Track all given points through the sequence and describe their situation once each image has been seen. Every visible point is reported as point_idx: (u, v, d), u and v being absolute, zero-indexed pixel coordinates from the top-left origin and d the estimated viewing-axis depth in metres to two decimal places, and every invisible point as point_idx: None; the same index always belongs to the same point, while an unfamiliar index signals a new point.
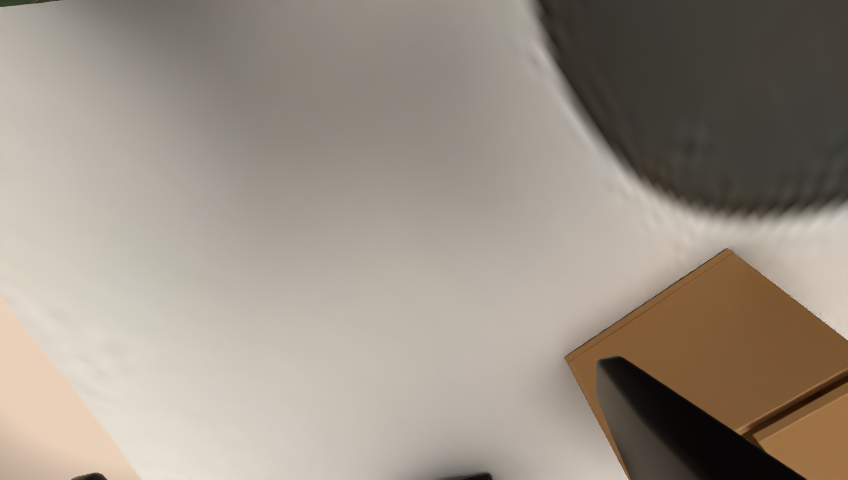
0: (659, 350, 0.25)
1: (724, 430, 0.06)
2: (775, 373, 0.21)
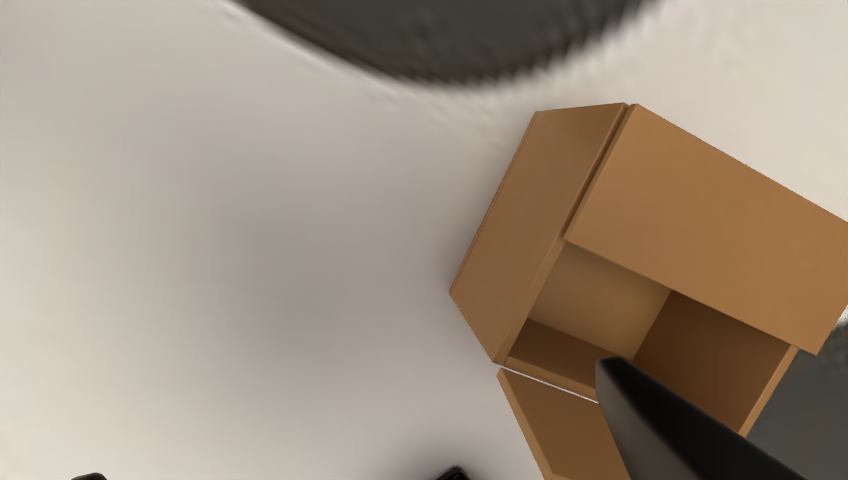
0: (501, 228, 0.23)
1: (724, 430, 0.06)
2: (570, 173, 0.19)
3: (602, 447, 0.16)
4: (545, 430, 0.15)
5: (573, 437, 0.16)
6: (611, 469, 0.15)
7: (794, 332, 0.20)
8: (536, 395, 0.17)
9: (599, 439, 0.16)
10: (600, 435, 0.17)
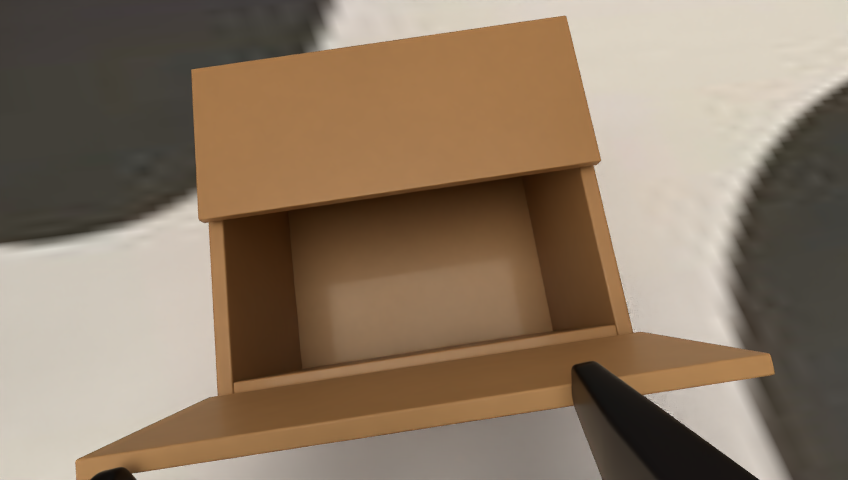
0: None
1: (692, 437, 0.06)
2: None
3: (274, 407, 0.11)
4: (168, 424, 0.11)
5: (223, 414, 0.11)
6: (243, 421, 0.10)
7: (546, 153, 0.15)
8: (228, 400, 0.13)
9: (285, 402, 0.11)
10: (297, 398, 0.12)
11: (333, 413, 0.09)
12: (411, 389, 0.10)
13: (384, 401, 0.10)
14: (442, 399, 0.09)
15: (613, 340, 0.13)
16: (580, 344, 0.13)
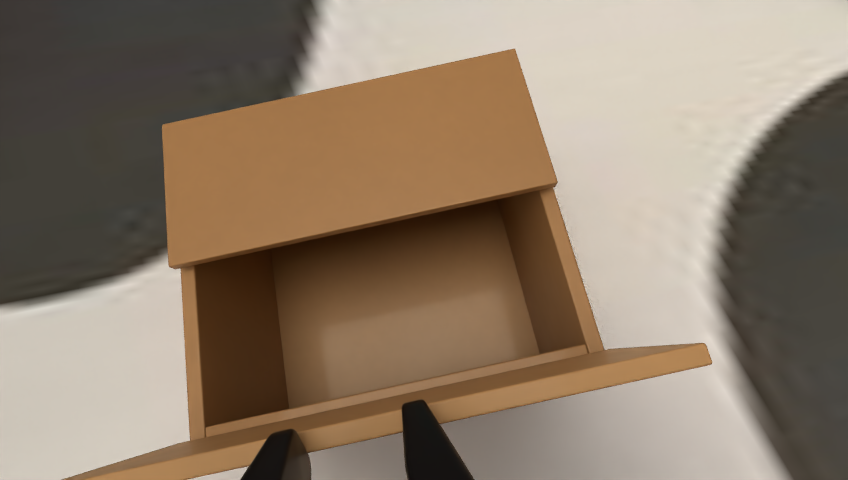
0: None
1: None
2: None
3: (229, 438, 0.11)
4: (124, 462, 0.11)
5: (179, 449, 0.11)
6: (192, 450, 0.10)
7: (503, 179, 0.16)
8: (193, 442, 0.13)
9: (243, 434, 0.11)
10: (256, 431, 0.12)
11: None
12: (363, 410, 0.10)
13: (330, 420, 0.10)
14: (383, 412, 0.09)
15: (578, 357, 0.13)
16: (546, 364, 0.13)
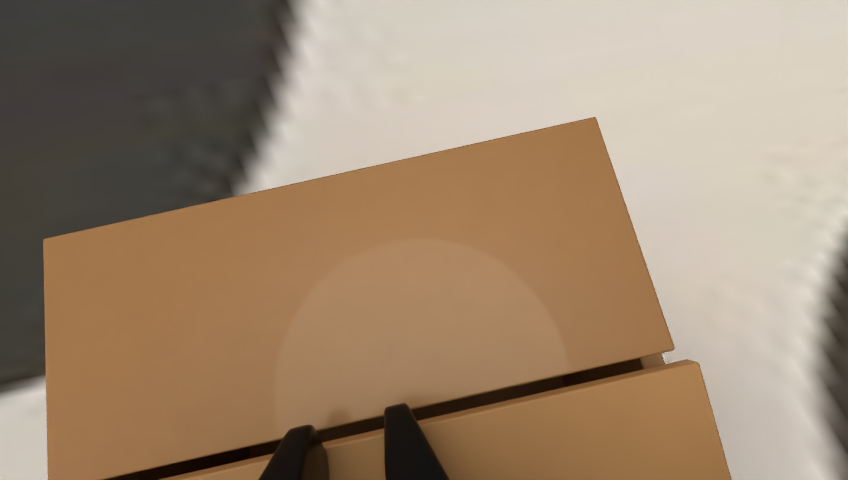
0: None
1: None
2: None
3: None
4: None
5: None
6: None
7: (587, 343, 0.10)
8: None
9: None
10: None
11: None
12: None
13: None
14: None
15: None
16: None
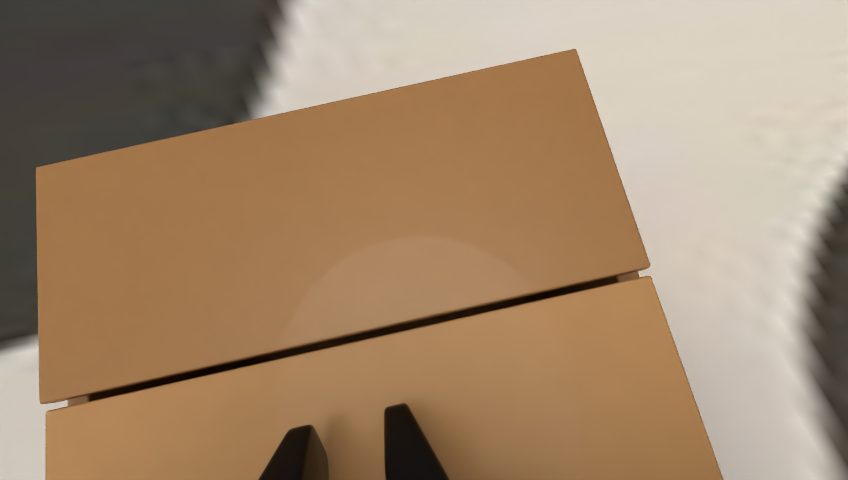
0: None
1: None
2: None
3: None
4: None
5: None
6: None
7: (565, 261, 0.10)
8: None
9: None
10: None
11: None
12: None
13: None
14: None
15: None
16: None
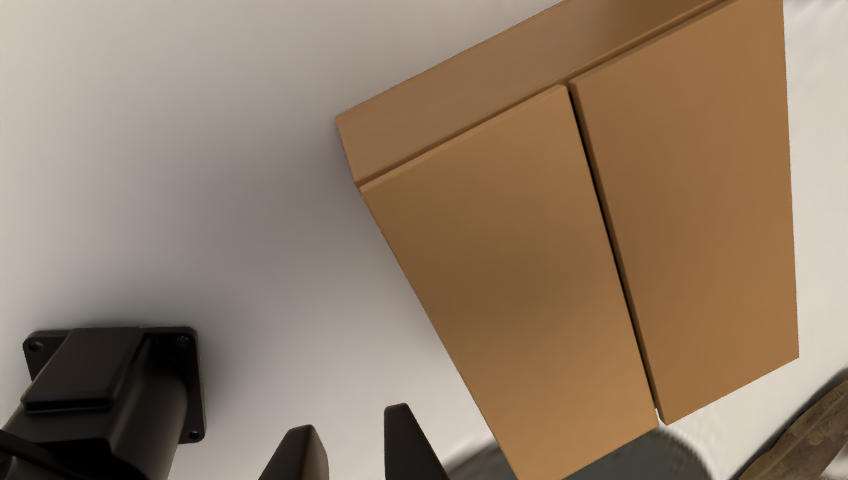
0: (462, 71, 0.16)
1: None
2: (617, 30, 0.13)
3: None
4: None
5: None
6: None
7: (671, 389, 0.16)
8: None
9: None
10: None
11: None
12: None
13: None
14: None
15: None
16: None
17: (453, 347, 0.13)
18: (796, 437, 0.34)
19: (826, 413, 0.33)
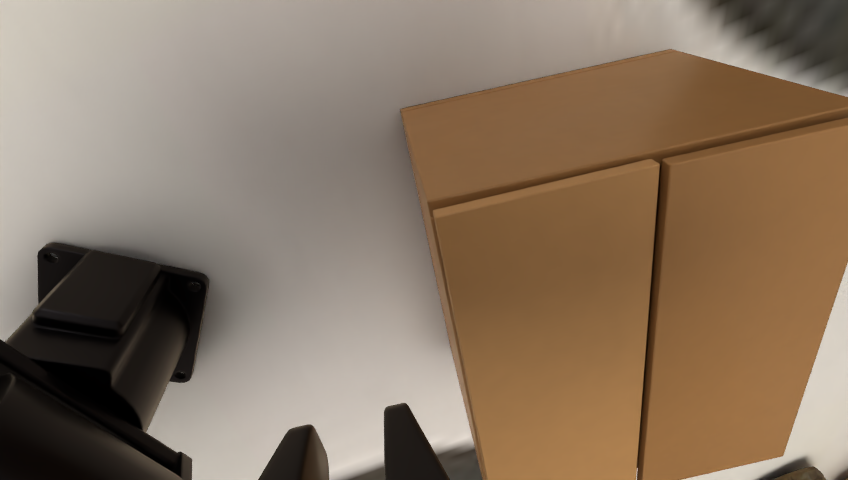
0: (543, 102, 0.16)
1: None
2: (716, 114, 0.13)
3: None
4: None
5: None
6: None
7: (658, 458, 0.17)
8: None
9: None
10: None
11: None
12: None
13: None
14: None
15: None
16: None
17: (472, 376, 0.14)
18: None
19: None
